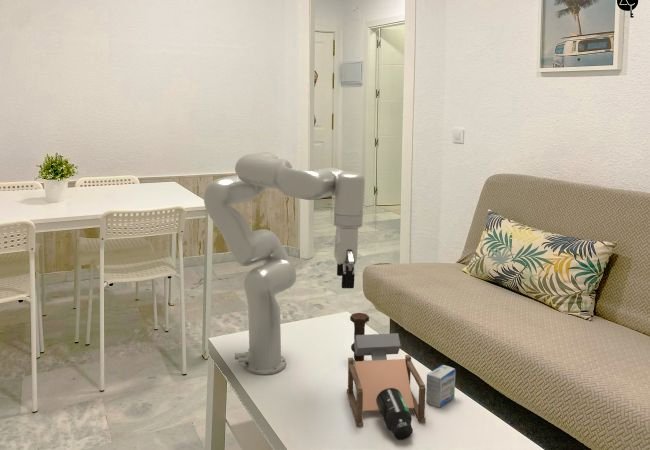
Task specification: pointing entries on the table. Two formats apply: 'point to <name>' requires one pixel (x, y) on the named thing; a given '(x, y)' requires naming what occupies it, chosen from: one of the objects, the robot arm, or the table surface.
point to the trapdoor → (381, 369)
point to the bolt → (358, 329)
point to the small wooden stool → (358, 405)
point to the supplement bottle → (395, 413)
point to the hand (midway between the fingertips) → (345, 281)
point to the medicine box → (440, 385)
